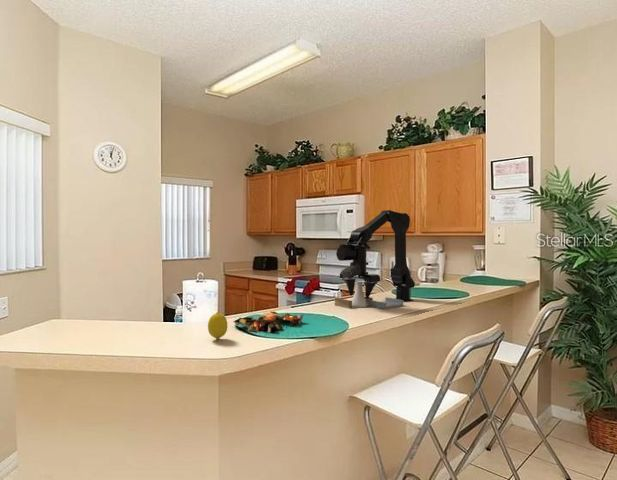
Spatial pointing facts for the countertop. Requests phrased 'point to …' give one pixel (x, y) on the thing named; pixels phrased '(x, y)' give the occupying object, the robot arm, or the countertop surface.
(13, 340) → the countertop surface
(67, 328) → the countertop surface
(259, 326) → the food
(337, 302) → the channel
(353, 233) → the robot arm
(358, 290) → the flask
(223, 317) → the lemon
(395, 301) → the cradle
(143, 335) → the countertop surface
